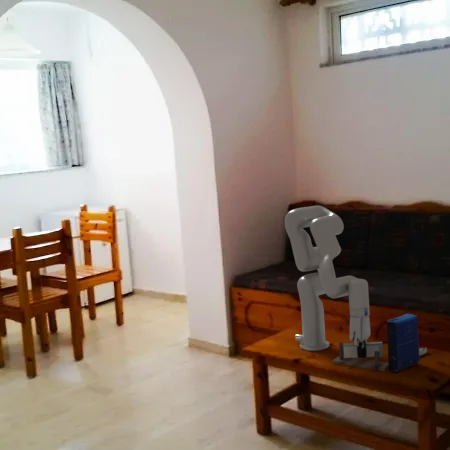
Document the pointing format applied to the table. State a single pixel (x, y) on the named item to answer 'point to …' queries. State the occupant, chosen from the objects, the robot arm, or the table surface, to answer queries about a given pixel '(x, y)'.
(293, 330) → the table surface
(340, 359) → the gate frame
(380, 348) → the panel
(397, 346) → the book
